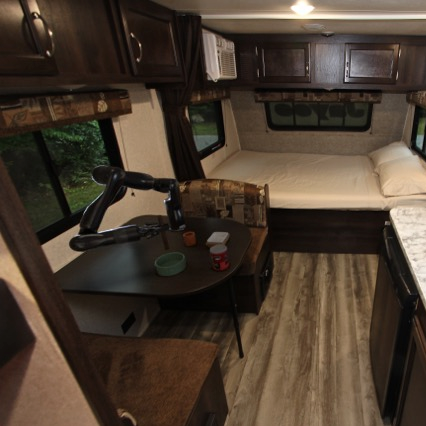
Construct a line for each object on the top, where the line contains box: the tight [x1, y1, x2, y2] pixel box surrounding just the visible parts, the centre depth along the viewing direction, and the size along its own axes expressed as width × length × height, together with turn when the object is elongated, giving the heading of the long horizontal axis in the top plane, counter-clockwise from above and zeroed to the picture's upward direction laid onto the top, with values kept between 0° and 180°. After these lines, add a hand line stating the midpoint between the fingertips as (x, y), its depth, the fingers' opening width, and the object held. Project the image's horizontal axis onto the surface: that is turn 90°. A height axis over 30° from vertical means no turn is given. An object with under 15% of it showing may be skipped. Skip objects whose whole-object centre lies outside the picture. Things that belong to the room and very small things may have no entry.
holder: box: [183, 231, 197, 247], centre depth 168 cm, size 6×6×6 cm
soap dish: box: [205, 231, 230, 249], centre depth 168 cm, size 12×10×5 cm
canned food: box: [209, 244, 230, 272], centre depth 147 cm, size 8×8×11 cm
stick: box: [156, 214, 170, 251], centre depth 139 cm, size 2×2×18 cm
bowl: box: [154, 251, 187, 277], centre depth 147 cm, size 14×14×5 cm
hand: (168, 226), depth 140 cm, fingers closed on stick, 2 cm apart
